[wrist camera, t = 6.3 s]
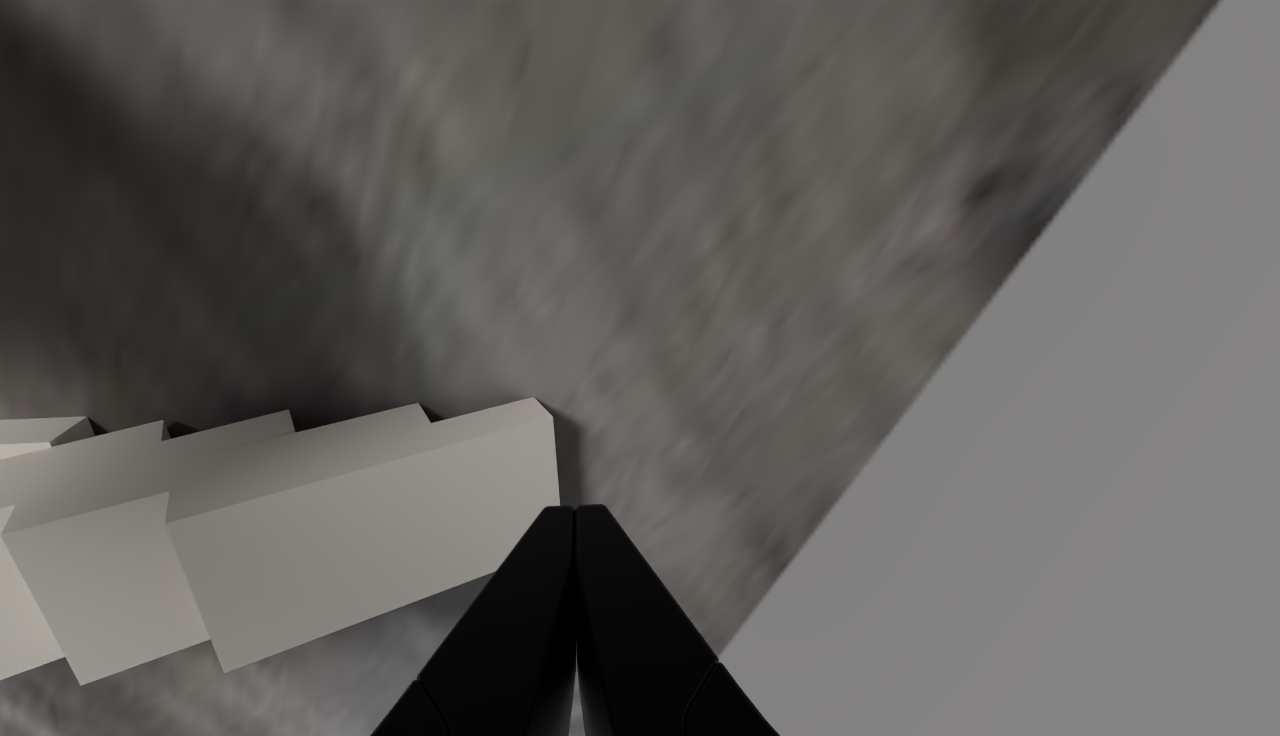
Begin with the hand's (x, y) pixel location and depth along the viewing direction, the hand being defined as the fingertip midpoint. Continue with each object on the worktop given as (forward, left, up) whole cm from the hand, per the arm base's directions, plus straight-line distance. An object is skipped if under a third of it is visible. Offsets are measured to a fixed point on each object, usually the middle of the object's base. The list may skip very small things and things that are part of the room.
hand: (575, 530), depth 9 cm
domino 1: (-1, -6, -11) cm, 13 cm away
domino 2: (-5, -6, -11) cm, 14 cm away
